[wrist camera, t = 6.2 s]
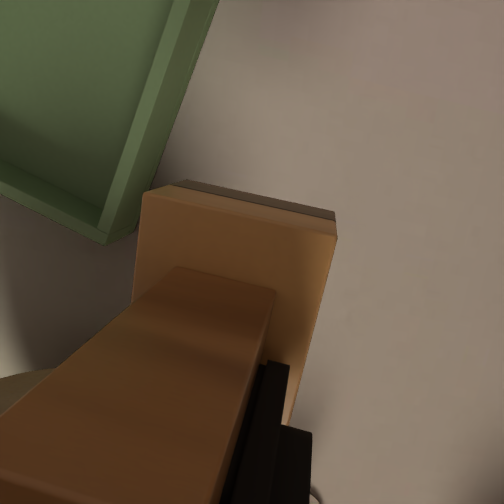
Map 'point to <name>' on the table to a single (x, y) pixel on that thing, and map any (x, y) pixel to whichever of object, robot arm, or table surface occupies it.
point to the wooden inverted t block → (175, 355)
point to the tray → (92, 103)
